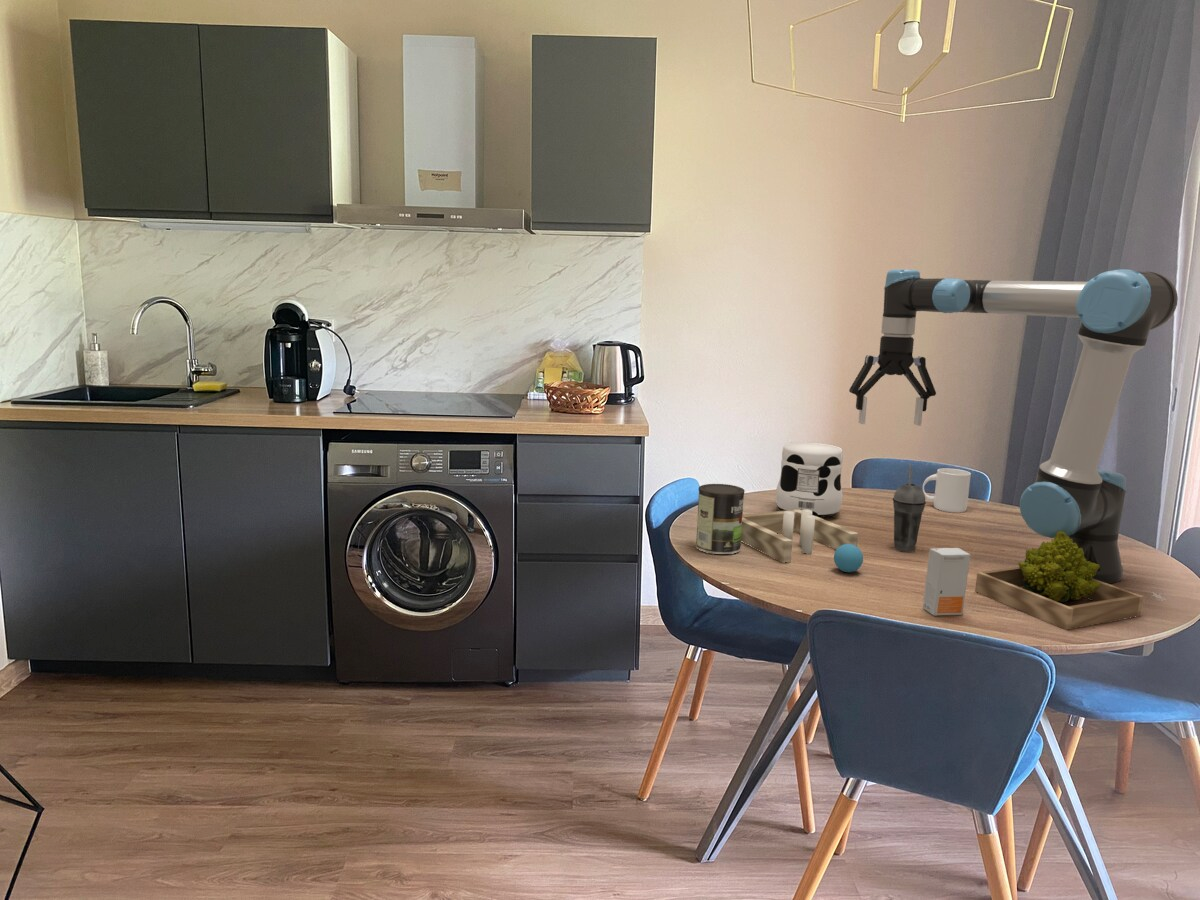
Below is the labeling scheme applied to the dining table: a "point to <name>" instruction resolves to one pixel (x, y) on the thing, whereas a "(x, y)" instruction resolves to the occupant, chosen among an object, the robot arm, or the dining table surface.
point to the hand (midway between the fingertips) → (889, 424)
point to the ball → (848, 558)
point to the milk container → (810, 478)
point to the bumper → (766, 525)
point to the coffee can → (719, 518)
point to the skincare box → (946, 581)
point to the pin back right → (804, 512)
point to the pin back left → (788, 524)
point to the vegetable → (1059, 570)
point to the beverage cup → (907, 515)
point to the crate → (1106, 608)
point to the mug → (950, 489)
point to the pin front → (808, 534)
